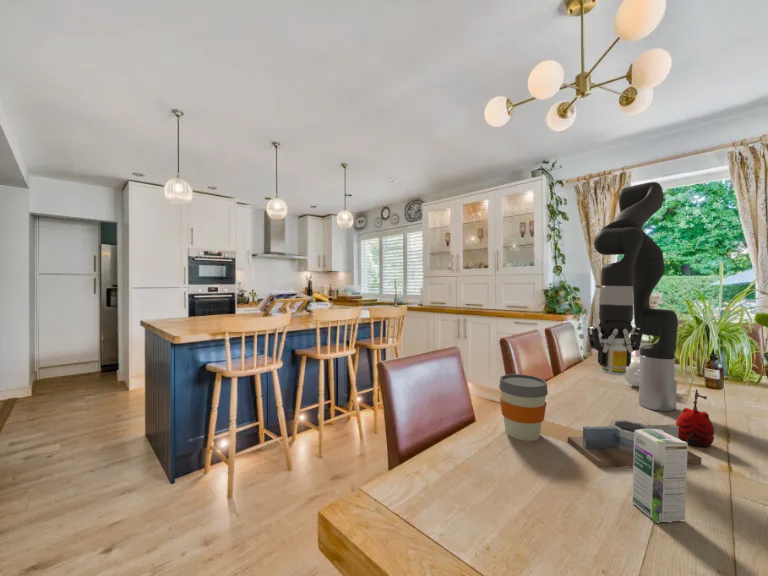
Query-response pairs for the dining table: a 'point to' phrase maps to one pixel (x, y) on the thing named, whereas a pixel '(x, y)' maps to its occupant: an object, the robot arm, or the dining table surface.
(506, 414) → the reusable coffee cup
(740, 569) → the dining table surface
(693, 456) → the board
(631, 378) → the cat head
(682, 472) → the syrup box
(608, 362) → the supplement bottle
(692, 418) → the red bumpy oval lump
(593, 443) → the grey winged octagonal holder
